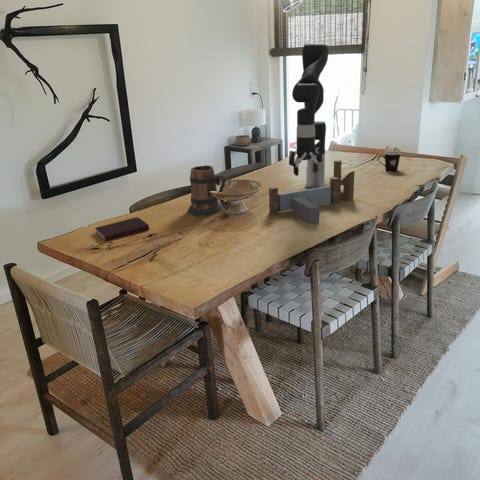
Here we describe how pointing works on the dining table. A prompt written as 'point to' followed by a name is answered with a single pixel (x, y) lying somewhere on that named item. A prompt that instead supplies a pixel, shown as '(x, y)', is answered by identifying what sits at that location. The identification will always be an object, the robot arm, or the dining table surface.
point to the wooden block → (344, 182)
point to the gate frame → (274, 195)
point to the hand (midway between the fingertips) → (305, 173)
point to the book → (122, 228)
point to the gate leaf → (305, 197)
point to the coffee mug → (391, 161)
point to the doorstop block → (305, 209)
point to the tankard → (205, 191)
